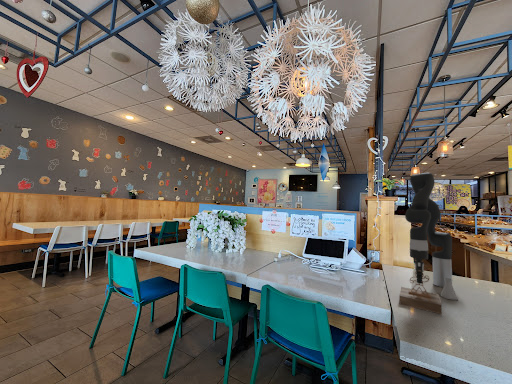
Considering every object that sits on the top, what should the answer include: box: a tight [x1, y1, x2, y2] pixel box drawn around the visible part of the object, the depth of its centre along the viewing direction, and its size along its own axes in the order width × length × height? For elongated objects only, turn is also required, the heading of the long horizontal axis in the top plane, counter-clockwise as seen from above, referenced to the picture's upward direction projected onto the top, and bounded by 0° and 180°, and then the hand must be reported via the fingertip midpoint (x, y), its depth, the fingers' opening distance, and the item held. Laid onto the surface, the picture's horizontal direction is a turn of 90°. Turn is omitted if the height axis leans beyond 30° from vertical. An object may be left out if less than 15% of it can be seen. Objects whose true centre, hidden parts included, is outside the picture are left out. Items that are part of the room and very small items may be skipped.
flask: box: [439, 278, 459, 301], centre depth 118 cm, size 7×7×10 cm
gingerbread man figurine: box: [409, 271, 431, 298], centre depth 110 cm, size 9×4×12 cm, turn 54°
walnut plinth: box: [399, 286, 443, 315], centre depth 110 cm, size 16×16×4 cm
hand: (419, 280), depth 110 cm, fingers open, 8 cm apart
